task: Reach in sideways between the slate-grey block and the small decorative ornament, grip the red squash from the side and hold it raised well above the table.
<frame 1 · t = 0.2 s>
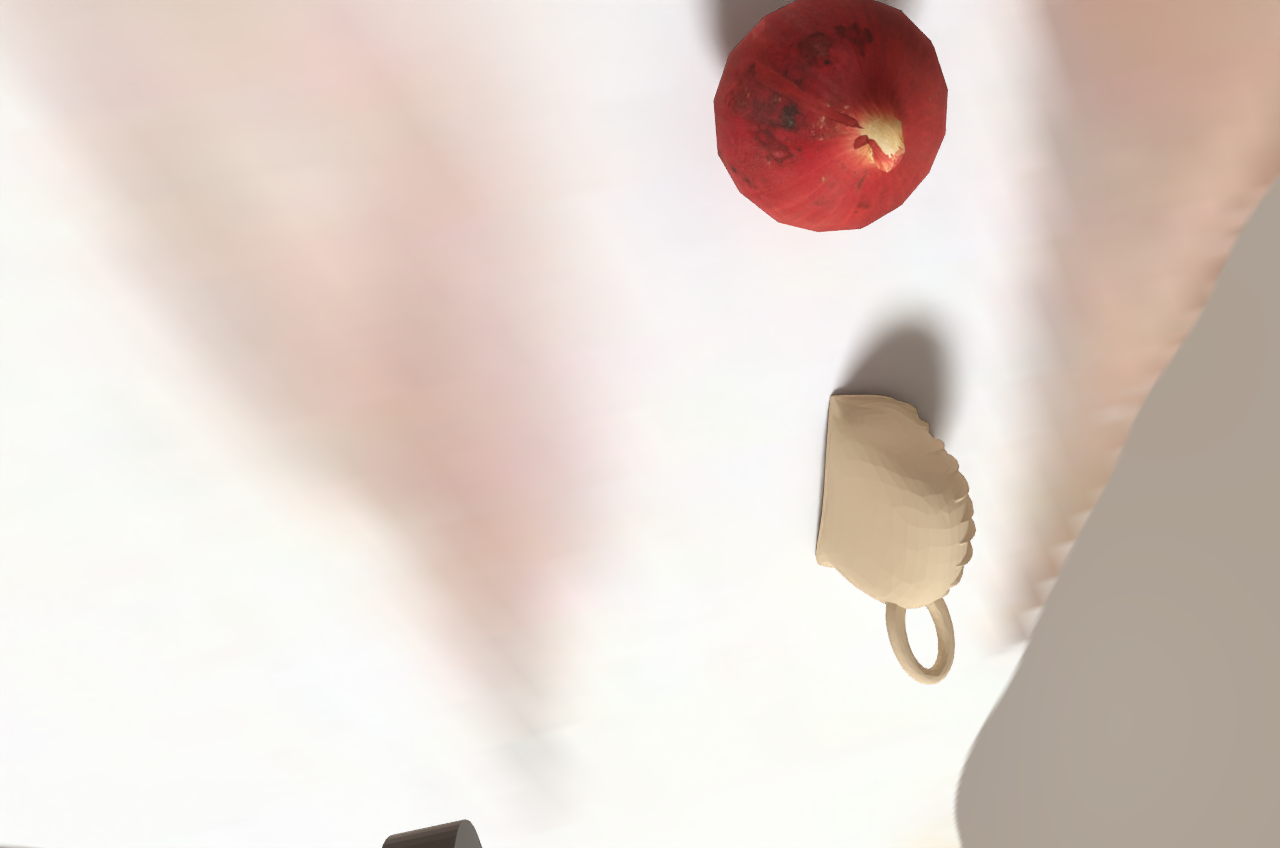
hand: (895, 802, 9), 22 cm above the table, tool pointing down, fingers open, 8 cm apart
decorative ornament: (867, 491, 33), on the table
red squash: (791, 101, 27), on the table
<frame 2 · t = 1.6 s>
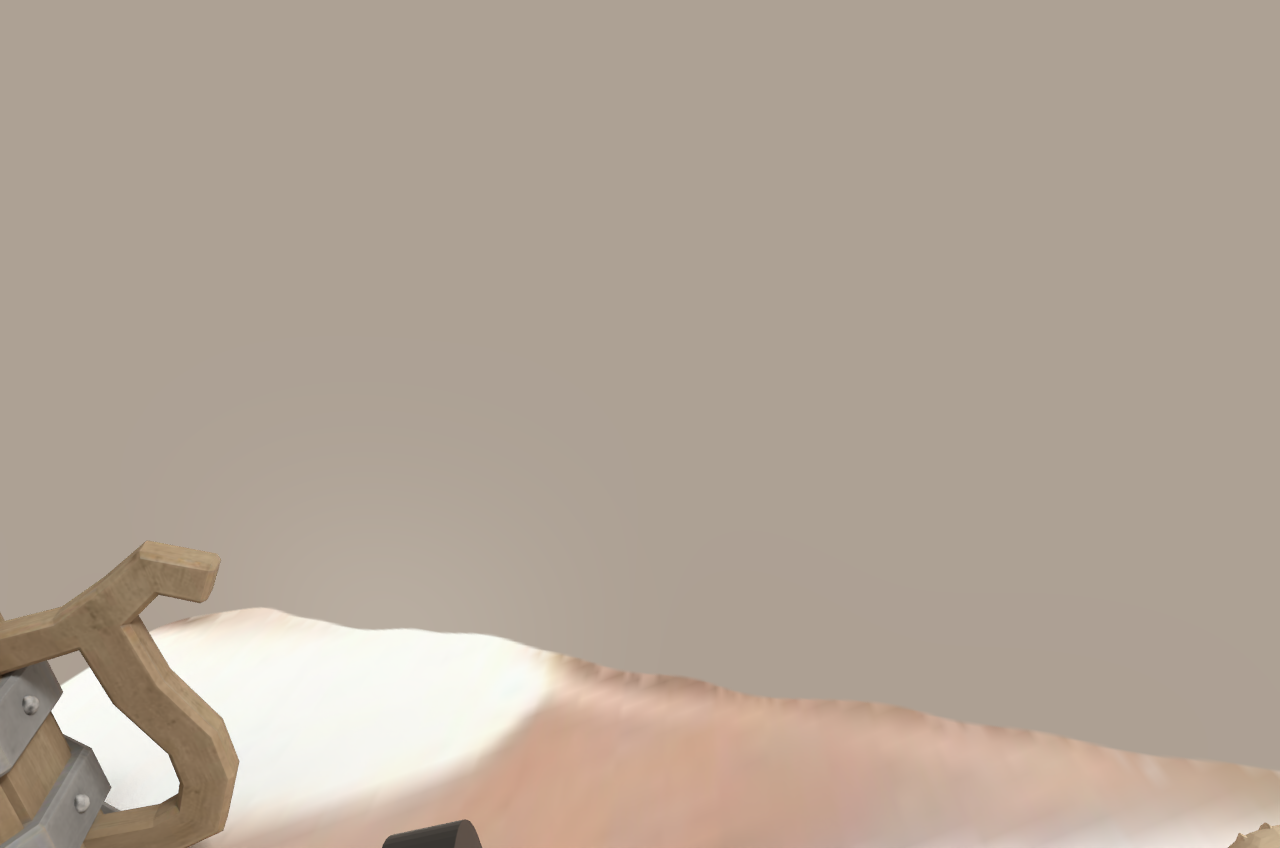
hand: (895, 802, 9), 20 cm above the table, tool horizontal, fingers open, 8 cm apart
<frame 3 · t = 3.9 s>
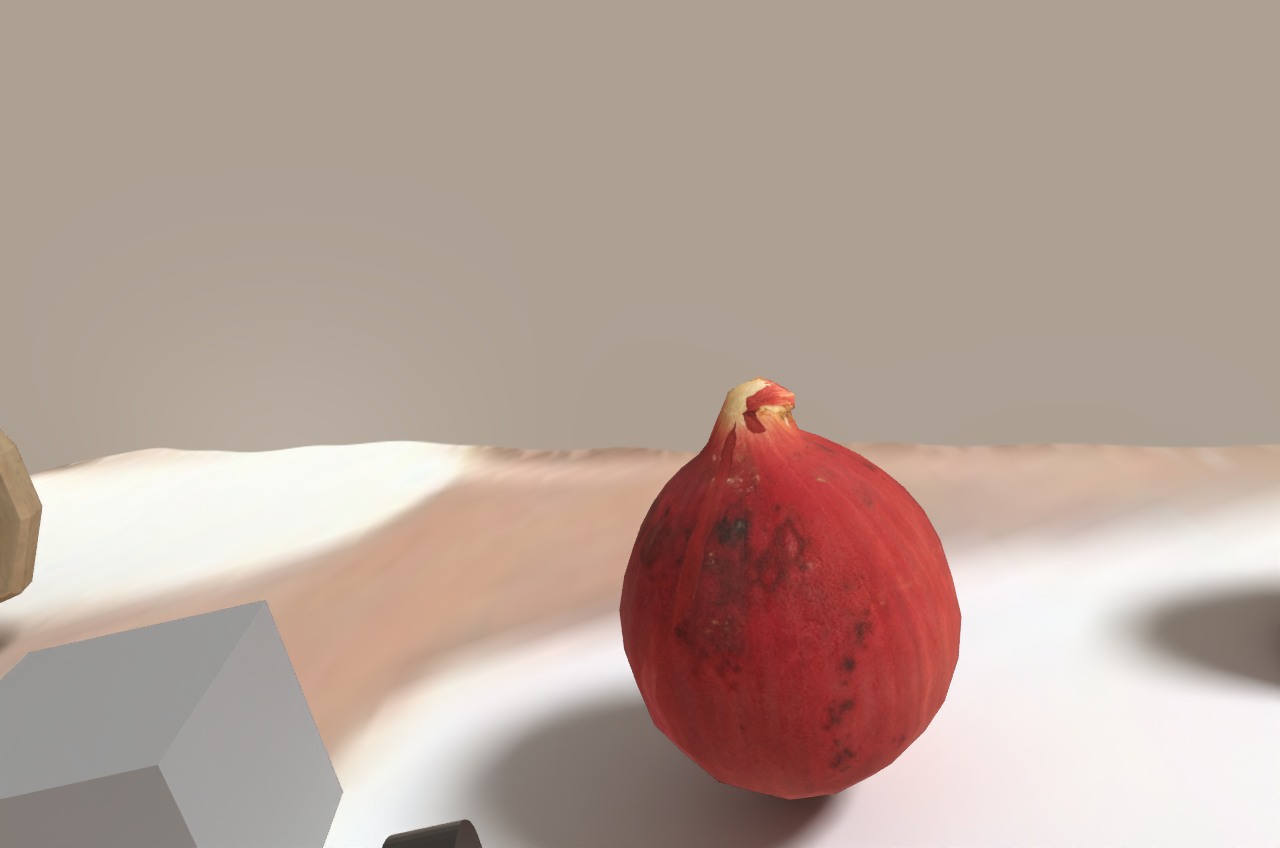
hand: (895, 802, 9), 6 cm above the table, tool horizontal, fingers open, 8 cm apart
red squash: (819, 789, 18), on the table
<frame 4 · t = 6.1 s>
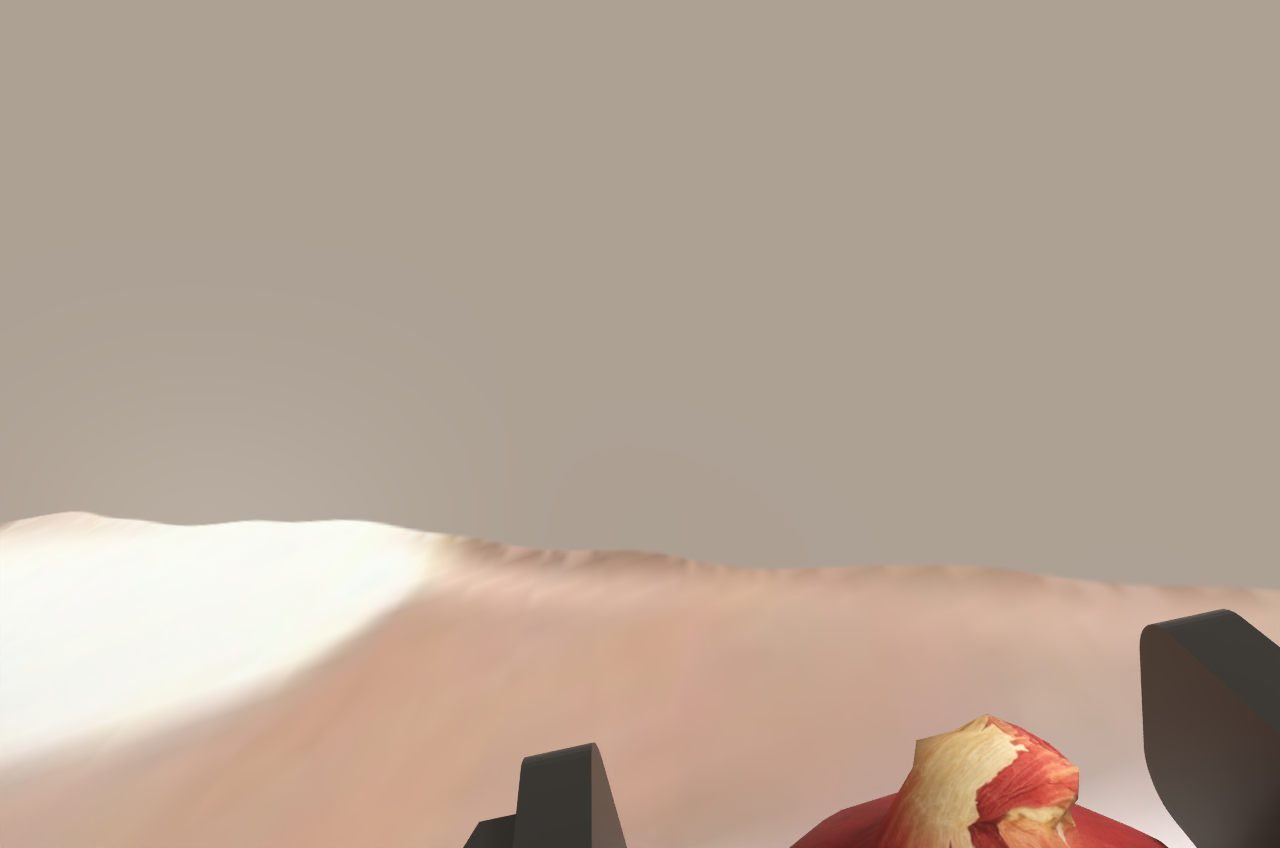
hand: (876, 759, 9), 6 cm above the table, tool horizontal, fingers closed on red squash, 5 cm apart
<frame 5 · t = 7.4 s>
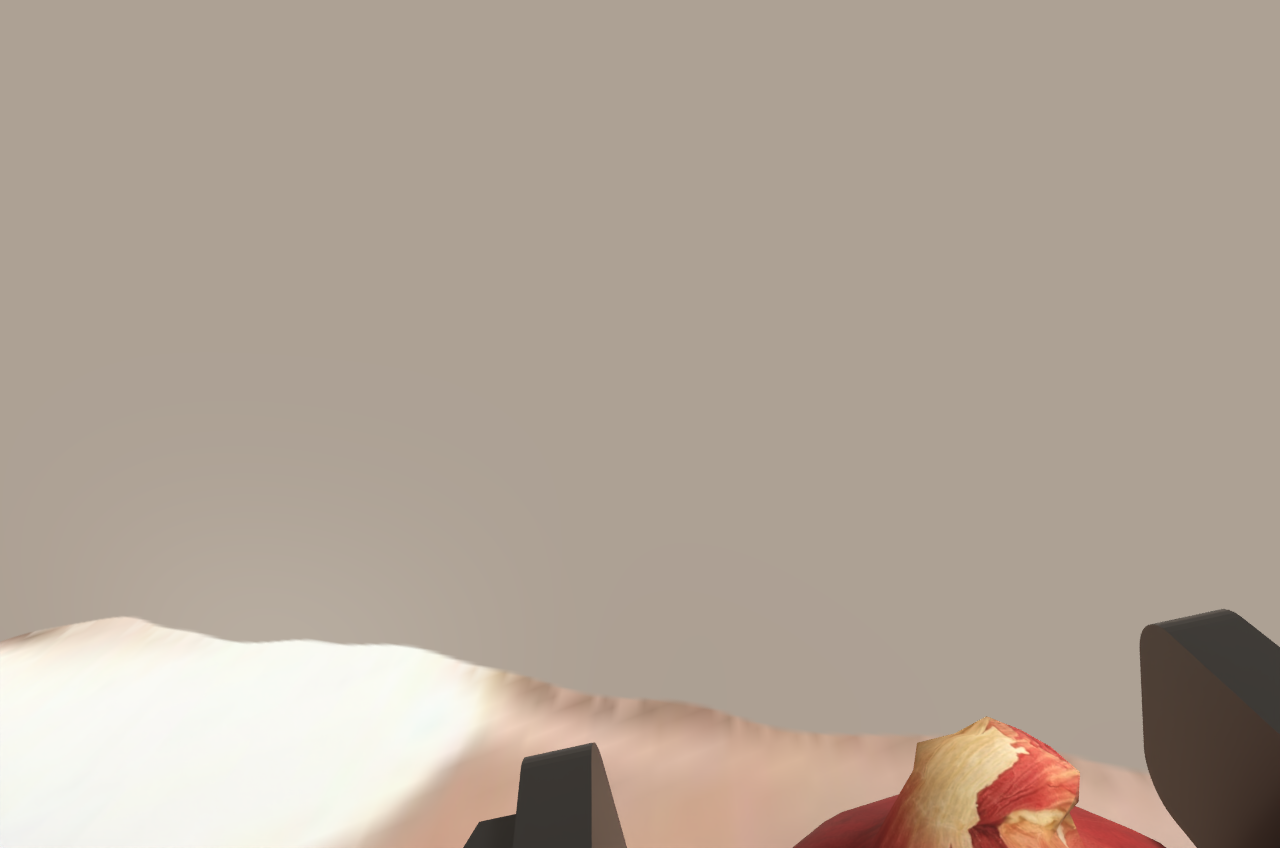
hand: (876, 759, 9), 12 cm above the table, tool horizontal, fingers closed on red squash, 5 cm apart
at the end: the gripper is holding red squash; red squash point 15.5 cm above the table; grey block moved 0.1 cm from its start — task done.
